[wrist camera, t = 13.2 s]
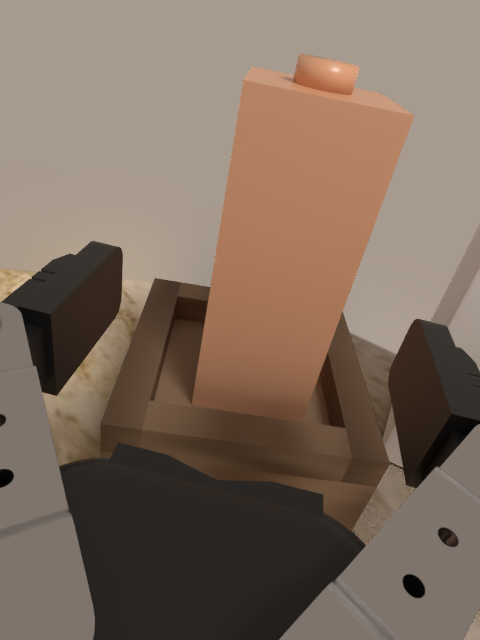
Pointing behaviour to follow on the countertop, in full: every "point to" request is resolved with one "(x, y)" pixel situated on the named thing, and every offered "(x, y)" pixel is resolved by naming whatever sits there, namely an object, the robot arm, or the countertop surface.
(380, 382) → the countertop surface
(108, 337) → the countertop surface
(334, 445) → the wooden box
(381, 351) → the countertop surface
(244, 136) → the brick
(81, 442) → the countertop surface
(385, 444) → the milk carton
